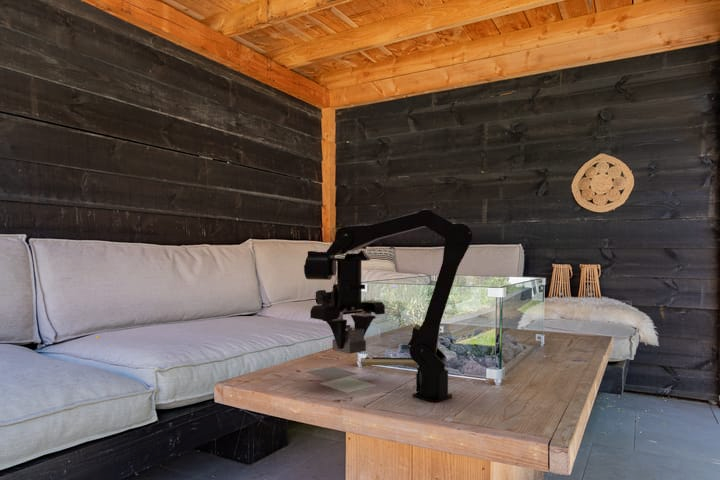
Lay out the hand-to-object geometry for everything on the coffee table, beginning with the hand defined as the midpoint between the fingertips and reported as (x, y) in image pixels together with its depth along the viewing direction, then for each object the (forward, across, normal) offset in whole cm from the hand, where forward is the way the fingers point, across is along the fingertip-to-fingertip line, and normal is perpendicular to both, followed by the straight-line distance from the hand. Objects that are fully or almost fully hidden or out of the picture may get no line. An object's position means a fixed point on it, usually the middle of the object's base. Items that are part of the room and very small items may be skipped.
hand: (348, 347), depth 111 cm
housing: (+1, 0, 0) cm, 1 cm away
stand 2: (+10, 0, 0) cm, 10 cm away
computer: (+11, -24, -10) cm, 28 cm away
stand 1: (+10, -4, -11) cm, 15 cm away
